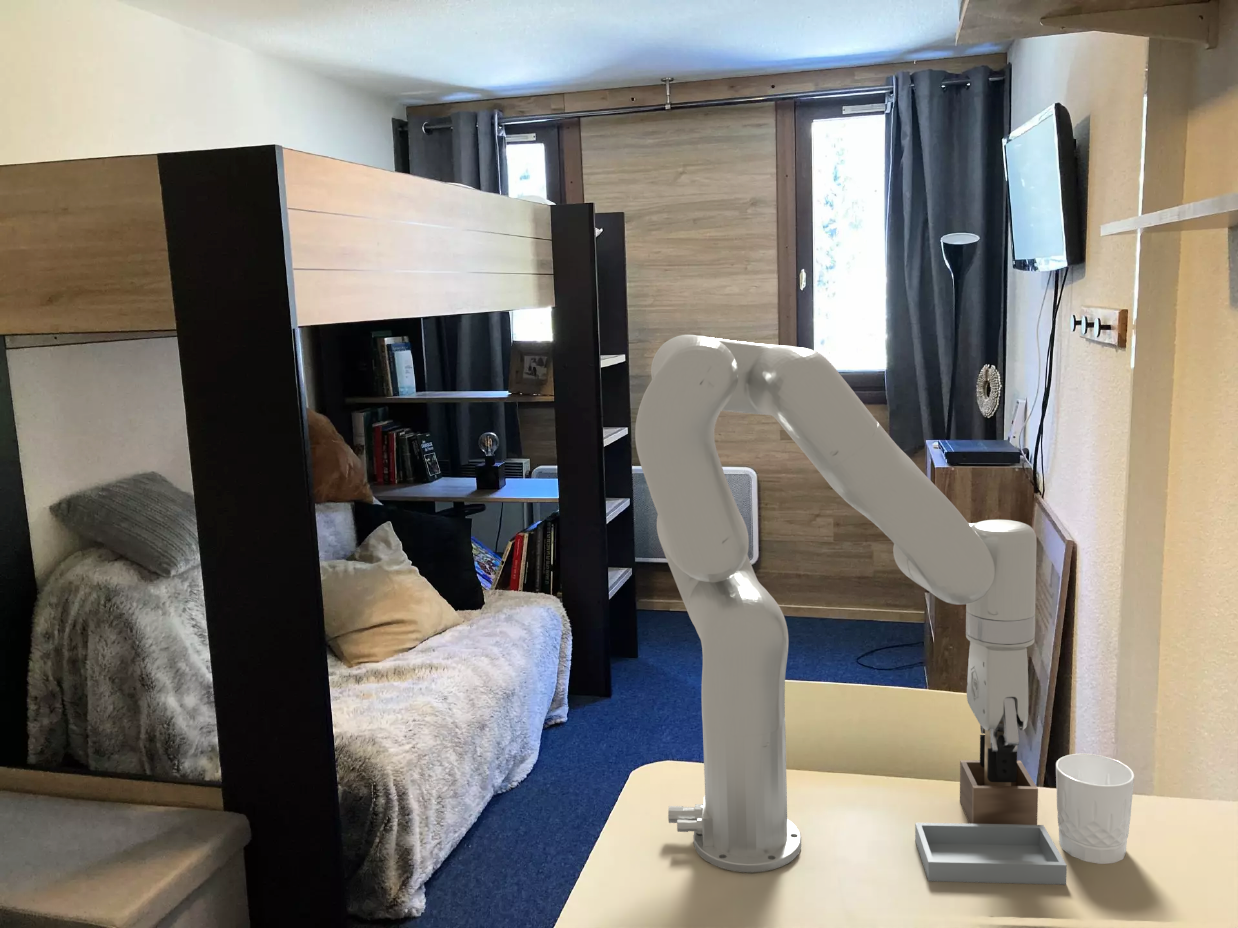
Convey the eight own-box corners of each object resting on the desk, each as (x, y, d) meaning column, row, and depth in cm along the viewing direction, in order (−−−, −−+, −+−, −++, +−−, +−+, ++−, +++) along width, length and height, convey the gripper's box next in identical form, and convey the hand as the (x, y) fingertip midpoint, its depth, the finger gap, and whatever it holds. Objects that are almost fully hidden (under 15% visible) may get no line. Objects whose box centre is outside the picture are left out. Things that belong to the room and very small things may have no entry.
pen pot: (973, 835, 116) (973, 787, 115) (959, 804, 123) (960, 759, 122) (1036, 836, 115) (1037, 788, 115) (1019, 805, 123) (1020, 760, 122)
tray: (928, 885, 107) (928, 861, 107) (915, 844, 115) (915, 822, 115) (1066, 889, 105) (1066, 864, 105) (1042, 847, 113) (1043, 824, 113)
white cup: (1140, 873, 107) (1143, 787, 106) (1062, 868, 109) (1064, 783, 107) (1119, 835, 115) (1122, 754, 113) (1047, 831, 117) (1049, 751, 115)
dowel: (987, 821, 118) (988, 727, 116) (981, 809, 121) (982, 716, 119) (1013, 822, 118) (1015, 727, 116) (1006, 809, 121) (1008, 716, 119)
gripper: (952, 605, 124) (951, 743, 127) (983, 650, 108) (981, 807, 111) (1014, 605, 123) (1012, 744, 126) (1055, 650, 107) (1051, 808, 110)
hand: (997, 772), depth 118 cm, fingers closed on dowel, 3 cm apart
